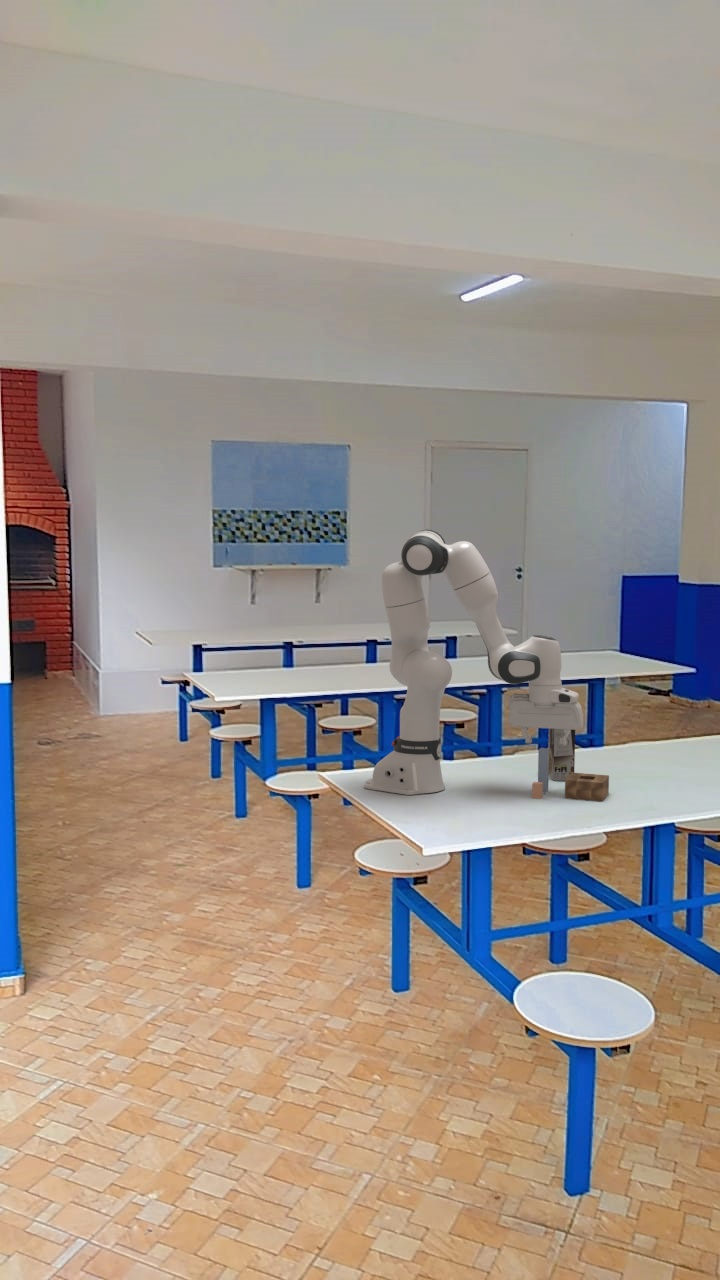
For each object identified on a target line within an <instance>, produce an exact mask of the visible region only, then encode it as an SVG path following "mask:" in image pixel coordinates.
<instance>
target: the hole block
mask: <svg viewBox="0 0 720 1280" xmlns="http://www.w3.org/2000/svg"><path fill="white" fill-rule="evenodd" d="M564 782H565V783H564V798H565V799H570V800H571V799H572V800H580V801H581V800H582V801H593V802H601V803H603V802H604V800H605V799H606V798H607V796H608V795H609V791H610V788H609V787H610V786H609V785H610V784H609V783H610V775H608V774H596V773H595V774H593V773H581V772H574V773H571V774H570V775H569V776H568V777H567V778H566V780H565V781H564Z"/></svg>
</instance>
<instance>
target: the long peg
mask: <svg viewBox="0 0 720 1280" xmlns="http://www.w3.org/2000/svg"><path fill="white" fill-rule="evenodd" d="M537 752H538V755H537V759H538V760H537V782H543V794H547V793H548V792H549V782H550V781H549V777H550V776H549V747H545V748H544V747H540V748H539V749H538V751H537Z"/></svg>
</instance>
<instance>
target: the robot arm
mask: <svg viewBox="0 0 720 1280" xmlns="http://www.w3.org/2000/svg"><path fill="white" fill-rule="evenodd" d="M401 549H402V550H401V554H400V555H401V560H399V561H396V562H392V563H389V564H388V565H387V566H386V567H385V568H384V569H383V571H382V572H381V589H382V590H381V591H382V596H383V597H382V598H383V601H384V602H383V603H384V606H385V613H386V615H387V621H388V624H389V629H390V636H391V637H390V639H391V658H390V660H389V672H390V673H391V675H392V677H393V678H394V679H395V680H396V681H397V682H398V683H399V684H401V685H402V686H404V687H405V686H406V687H407V689H406V695H405V700H404V703H403V705H402V707H401V708H400V711H399V735H398V736H396V738H395V739H393V741H391V743H392V744H391V746H393V751H391V752H389V753H388V754H387V755H386V756H385V757H383V758H382V759H380V760H379V761H378V762H377V763H376V764H375V766H374V768H373V771H372V772H373V773H372V778H370V779H368V780H366V781H365V782H364V789H366V790H374V791H380V792H386V793H387V792H388V793H393V794H399V795H407V796H411V795H412V796H413V795H419V794H430V793H436V792H437V793H438V792H440V791H443V790H445V788H446V785H445V783H444V780H443V774H442V765H441V758H442V757H441V756H442V739H441V737H440V717H441V716H440V712H441V706H442V702H443V698H444V694H445V690H446V688H447V686H448V685H449V684H450V682H451V680H452V677H453V676H452V675H453V669H452V665H451V664H450V662H449V661H448V660H447V658H445V657H444V656H443V655H441V654H440V653H437V652H435V651H431V650H429V646H428V635H429V634H428V633H429V629H430V628H431V622H430V618H429V613H428V609H427V604H426V599H425V595H424V594H425V593H424V591H423V586H422V585H423V584H422V579H423V576H429V575H430V576H431V575H436V574H441V573H443V574H444V575H445V577H446V578H447V580H448V582H449V584H450V586H451V588H452V590H453V592H454V594H455V596H456V598H457V599H458V601H459V602H460V604H461V606H462V607H463V608H464V609H465V611H466V612H467V613H468V615H469V616H470V618H471V619H472V620H473V621H474V623H475V625H476V627H477V629H478V631H479V634H480V636H481V638H482V640H483V643H484V645H485V647H486V651H487V665H488V669H489V671H490V674H492V676H493V677H495V678H496V679H498V680H500V681H503V682H505V683H508V684H509V685H519V684H523V683H527V682H528V693H513V694H511V695H510V696H509V697H508V700H507V702H508V703H507V705H508V708H509V712H508V725H509V726H510V727H511V728H520V730H521V733H522V735H523V737H524V738H525V744H529V745H530V744H532V743H533V736H530V734H529V733H528V730H529V728H530V729H531V728H532V729H548V730H549V729H564V733H566V734H565V736H564V737H563V738H560V745H566V738H567V737H568V735H569V733H570V729H572V730H575V731H578V730H580V729H582V728H583V727H584V712H583V707H582V705H581V704H580V702H579V701H578V700H579V696H580V695H579V693H578V692H576V691H573V690H571V689H568V688H565V687H562V685H563V684H562V683H563V682H562V679H561V672H562V653H561V646H560V642H559V641H558V640H557V639H556V638H553V637H551V636H547V635H539V634H535V635H531V636H530V637H529V638H528V639H526V640H525V641H524V642H522V643H519V644H518V645H513V644H512V643H511V642H510V641H509V639H508V637H507V635H506V632H505V630H504V629H503V626H502V624H501V622H500V619H499V617H498V613H497V608H496V607H497V602H498V599H499V593H498V589H497V585H496V582H495V579H494V577H493V575H492V572H491V570H490V569H489V567H488V565H487V562H486V561H485V560H484V558H483V556H482V555H481V553H480V552H479V550H478V549H477V547H475V545H474V544H473V543H471V542H470V541H467V540H466V541H465V540H462V541H461V540H460V541H457V542H453V543H451V544H447V543H446V542H445V539H444V538H443V536H442V534H439V532H437V531H435V530H432V529H423V530H419V531H417V532H415V533H413V534H412V535H410V536H409V538H408V539H407V540H406V542H405V543H404V545H403V546H402V548H401Z"/></svg>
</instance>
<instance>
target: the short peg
mask: <svg viewBox="0 0 720 1280" xmlns="http://www.w3.org/2000/svg"><path fill="white" fill-rule="evenodd" d="M531 785H532V786H531V787H532V789H531V798H532V799H538V800H541V799H542V798H544V793H543V782H538V781H533V782H532V783H531Z"/></svg>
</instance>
